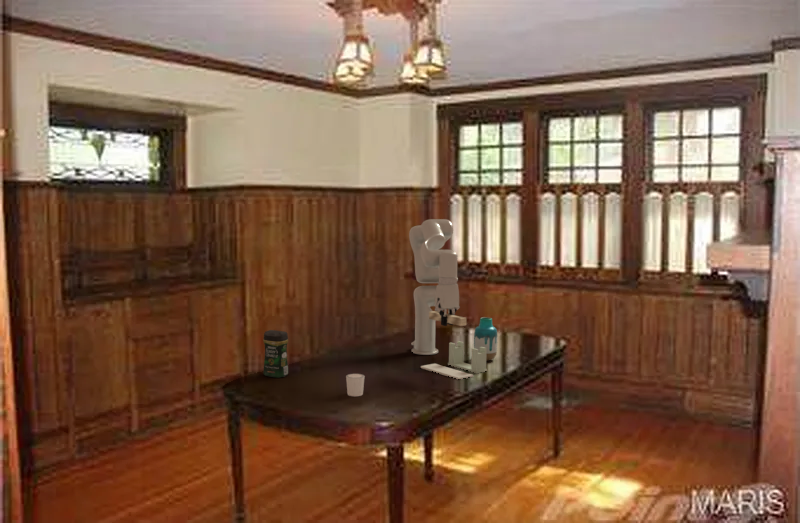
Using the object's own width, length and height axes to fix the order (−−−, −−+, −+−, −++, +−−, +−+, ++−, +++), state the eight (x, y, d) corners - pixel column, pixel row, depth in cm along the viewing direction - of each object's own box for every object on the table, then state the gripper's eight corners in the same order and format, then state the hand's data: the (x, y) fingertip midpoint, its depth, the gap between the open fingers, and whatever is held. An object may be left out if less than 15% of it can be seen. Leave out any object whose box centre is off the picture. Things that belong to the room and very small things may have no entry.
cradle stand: (447, 365, 301) (448, 342, 301) (457, 363, 305) (458, 340, 304) (476, 373, 287) (477, 349, 286) (487, 371, 291) (487, 348, 290)
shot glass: (345, 391, 259) (345, 373, 258) (364, 391, 259) (364, 373, 259) (346, 396, 252) (346, 378, 251) (364, 396, 252) (364, 378, 252)
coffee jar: (260, 376, 279) (259, 331, 278) (271, 372, 286) (271, 327, 285) (280, 379, 275) (280, 333, 274) (291, 374, 282) (291, 330, 281)
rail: (429, 318, 294) (429, 311, 294) (434, 318, 296) (434, 311, 295) (461, 325, 278) (461, 318, 278) (466, 325, 280) (466, 317, 280)
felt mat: (420, 367, 296) (420, 366, 296) (434, 365, 301) (434, 363, 301) (458, 379, 277) (459, 377, 277) (473, 376, 282) (473, 374, 282)
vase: (496, 363, 305) (497, 320, 303) (472, 362, 307) (473, 319, 306) (497, 358, 316) (498, 316, 314) (474, 356, 318) (475, 315, 316)
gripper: (456, 279, 293) (455, 321, 295) (427, 281, 283) (426, 325, 285) (468, 280, 287) (467, 324, 289) (439, 283, 277) (438, 328, 279)
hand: (447, 324), depth 287 cm, fingers closed on rail, 2 cm apart
